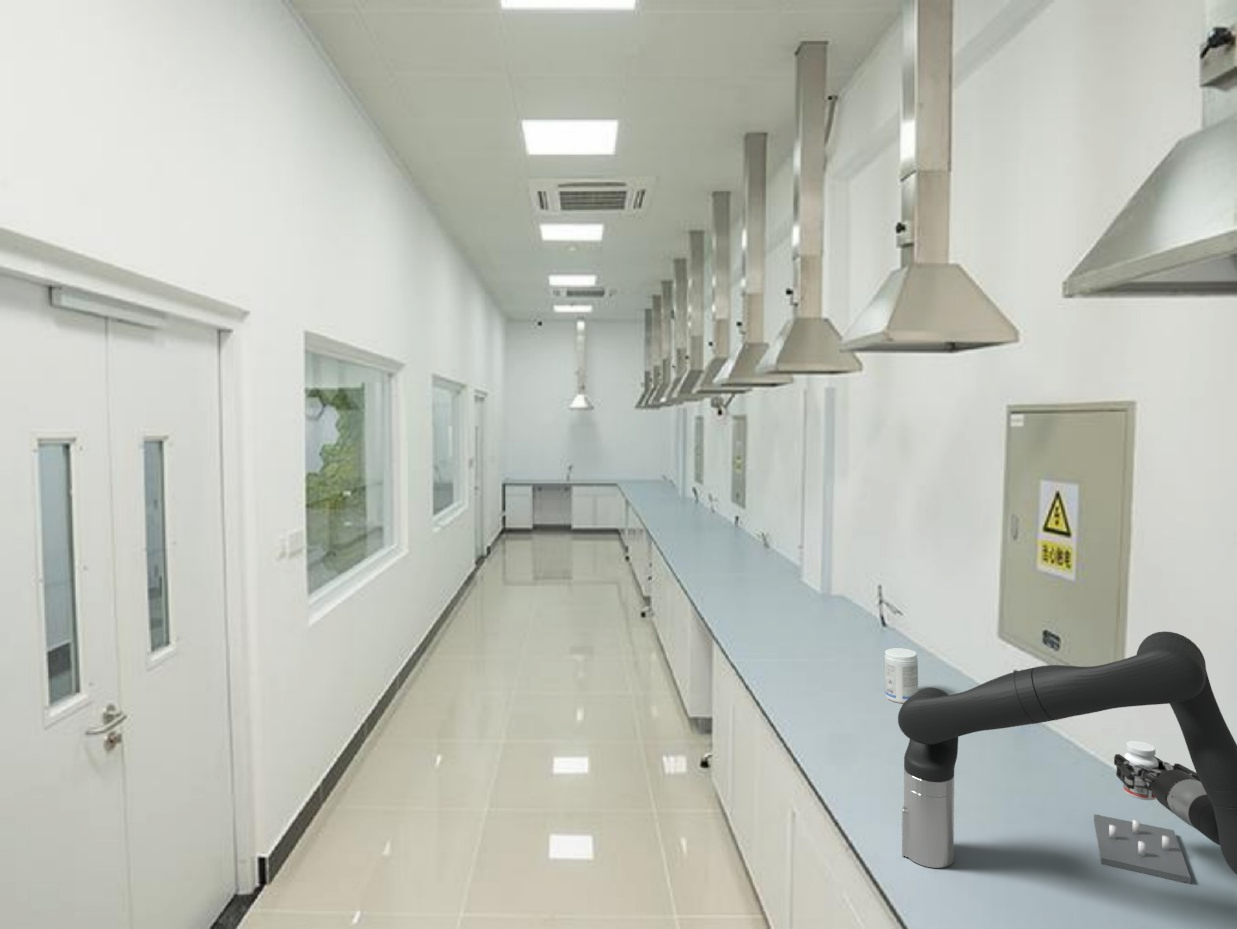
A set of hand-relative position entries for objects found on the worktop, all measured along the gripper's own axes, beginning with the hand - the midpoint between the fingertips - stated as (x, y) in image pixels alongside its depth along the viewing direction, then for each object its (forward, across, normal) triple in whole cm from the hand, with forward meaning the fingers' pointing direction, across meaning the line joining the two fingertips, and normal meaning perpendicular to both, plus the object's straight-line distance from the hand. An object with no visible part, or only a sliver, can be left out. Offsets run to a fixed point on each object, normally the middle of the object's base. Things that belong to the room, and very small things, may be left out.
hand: (1133, 758), depth 151 cm
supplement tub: (+79, +22, +17) cm, 83 cm away
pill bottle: (-2, 0, +6) cm, 7 cm away
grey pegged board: (-2, 0, +18) cm, 18 cm away
